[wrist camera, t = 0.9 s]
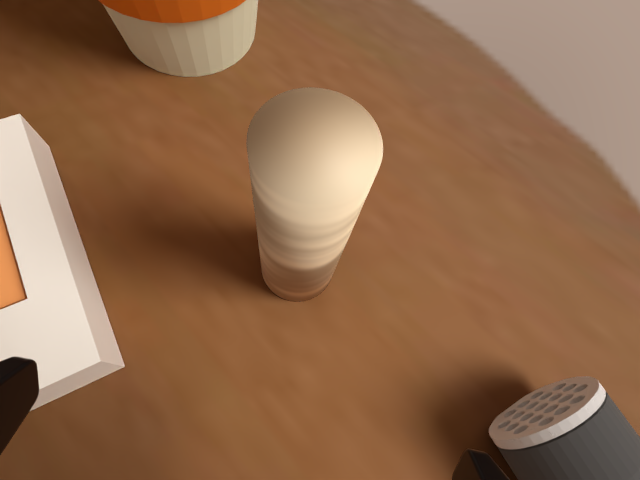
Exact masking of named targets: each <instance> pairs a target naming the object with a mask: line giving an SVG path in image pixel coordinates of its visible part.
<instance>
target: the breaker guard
mask: <svg viewBox="0 0 640 480" xmlns="http://www.w3.org/2000/svg"><path fill="white" fill-rule="evenodd" d="M0 204H1V207H2V211H3V214H4V218H5V221H6V225H7V228H8V232H9V235H10V239H11V242H12V246H13V249H14V253H15V256H16V260H17V263H18V267H19V270H20V274H21V277H22V281H23V284H24V288H25V291H26V295H27V298H28V299H26V300H23V301H21V302H18V303H16V304H13V305H11V306H8V307H6V308H3V309H1V310H0V361H2V360H5V359H7V358H10V357H14V356H18V357H23V358H28V359H32V360H34V361H35V362H36V363H37V370H38V381H39V395H38V398H37V400H36V402H35V403H34V405H33V406H32V408H31V410H30V411H32V410H34V409H36V408H38V407H40V406H42V405H44V404H47V403H49V402H51V401H53V400H55V399H57V398H59V397H61V396H64V395H66V394H68V393H70V392H72V391H74V390H76V389H78V388H81V387H83V386H85V385H87V384H89V383H91V382H93V381H95V380H98V379H100V378H102V377H104V376H106V375H108V374H110V373H113V372H115V371H117V370H119V369H121V368H123V367H125V365H124V363H123V360H122V357H121V354H120V351H119V348H118V345H117V342H116V339H115V336H114V333H113V331H112V328H111V325H110V322H109V319H108V316H107V313H106V310H105V307H104V304H103V302H102V299H101V296H100V293H99V290H98V287H97V284H96V281H95V278H94V275H93V272H92V270H91V267H90V264H89V261H88V258H87V255H86V252H85V249H84V246H83V243H82V240H81V238H80V235H79V232H78V229H77V226H76V223H75V220H74V217H73V214H72V211H71V209H70V206H69V203H68V200H67V197H66V194H65V191H64V188H63V185H62V182H61V179H60V177H59V174H58V171H57V168H56V165H55V162H54V159H53V156H52V153H51V150H50V148H49V146H48V145H47V144H46V142H45V141H44V140H43V139H42V138H41V137H40V136H39V135H38V134H37V132H36V131H35V130H34V129H33V128H32V127H31V126H30V125H29V123H28V122H27V121H26V120H25V119H24V118H23V117H22V116H21V115H20V114H17V115H14V116H10V117H7V118H4V119H0Z"/></svg>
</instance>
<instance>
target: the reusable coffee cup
mask: <svg viewBox="0 0 640 480" xmlns="http://www.w3.org/2000/svg"><path fill="white" fill-rule="evenodd" d="M98 1H99V2H101V3H102V4H103V5H104V7H105V9H106V10H107V12H108V14H109V15H110V17H111V19H112V20H113V22H114V24H115V25H116V27H117V29H118V30H119V32H120V34H121V35H122V37H123V39H124V40H125V42H126V44H127V45H128V47H129V49H130V50H131V51H132V53H133V54H134V55H135V56H136V57H137V58H138V59H139V60H140V61H141V62H143V63H144V64H145V65H147V66H149V67H151V68H153V69H155V70H157V71H159V72H162V73H166V74H169V75H175V76H182V77H198V76H204V75H210V74H213V73H216V72H219V71H222V70H224V69H226V68H228V67H230V66H232V65H234V64H235V63H236V62H237V61H239V60H240V59H241V58H242V57H243V56H244V55H245V54H246V52H247V51H248V50H249V49H250V46H251V44H252V42H253V40H254V35H255V28H256V17H257V6H258V0H98Z"/></svg>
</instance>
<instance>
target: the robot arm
mask: <svg viewBox="0 0 640 480" xmlns="http://www.w3.org/2000/svg"><path fill="white" fill-rule="evenodd" d="M38 395H39V381H38V370H37V363H36V362H35V361H34V360H32V359H28V358H23V357H18V356H14V357H10V358H7V359H5V360H2V361H0V455H1V453H2V452H3V450H4V449H5V447H6V446H7V444H8V443H9V441H10V440H11V438H12V437H13V435H14V434H15V432H16V431H17V429H18V428H19V426H20V425H21V423H22V422H23V420H24V419H25V417H26V416H27V414H28V413H29V411H30V410H31V408H32V406H33V405H34V403H35V402H36V400H37V398H38ZM452 480H510V479H509V478H508V477H507V476H506V474H505V473H504V472H503V471H502V470H501V469H500V467H499V466H498V465H497V464H496V463H495V461H494V460H493V459H492V458H491V457H490V456H489V454H487V453H486V452H484V451H479V450H474V449H466V450H465V451H464V452H463V454H462V456H461V458H460V460H459V462H458V464H457V466H456V469H455V471H454V473H453V476H452Z"/></svg>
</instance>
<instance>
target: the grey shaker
mask: <svg viewBox="0 0 640 480" xmlns="http://www.w3.org/2000/svg"><path fill="white" fill-rule="evenodd" d="M489 435H490V437H491V438H492V440H493V441H494V443H495V444H496V446H497V447H498V449H499V451H500V452H501V454H502V455H503V457H504V459H505V460H506V462H507V463H508V465H509V466H510V468H511V470H512V471H513V473H514V474H515V476H516V477H517V479H518V480H640V437H639V436H638V434H637V433H636V432H635V430H634V429H633V428H632V426H631V425H630V424H629V422H628V421H627V420H626V418H625V417H624V415H623V414H622V413H621V411H620V410H619V409H618V407H617V406H616V405H615V403H614V402H613V401H612V399H611V398H610V397H609V395H608V394H607V392H606V391H605V390H604V388H603V387H602V385H601V384H600V383H599V381H598V380H597V379H595V378H593V377H586V376H583V377H573V378H568V379H564V380H561V381H558V382H555V383H552V384H549V385H547V386H544V387H542V388H539V389H537V390H535V391H533V392H531V393H529V394H527V395H526V396H524V397H523V398H521V399H520V400H518V401H517V402H516V403H514V404H513V405H512V406H510V407H509V408H508V409H506V410H505V411H504V412H502V413H501V414H499V415H498V416H497V417H496V418H495V419H494V421H493V422H492V424H491V426H490V427H489Z"/></svg>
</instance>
